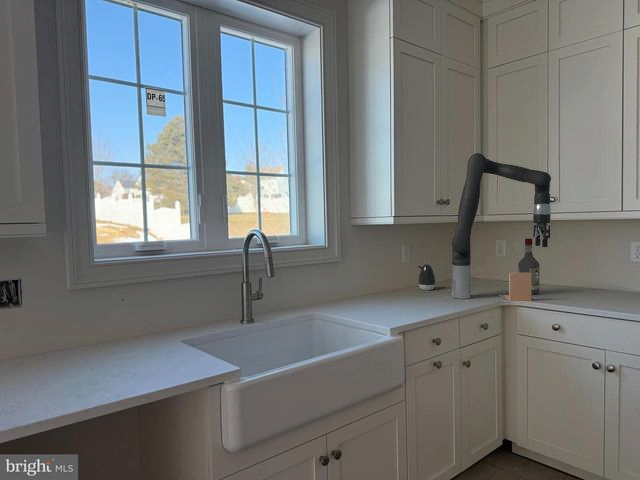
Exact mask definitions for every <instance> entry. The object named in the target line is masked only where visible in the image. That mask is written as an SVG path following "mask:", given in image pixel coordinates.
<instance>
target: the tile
mask: <svg viewBox="0 0 640 480" xmlns="http://www.w3.org/2000/svg"><path fill="white" fill-rule="evenodd" d="M508 278H509V279H508V295H509V301H510V302H532V300H531V298H532V295H531V273H530V272H525V273H518V272H508Z"/></svg>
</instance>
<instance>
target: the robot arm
mask: <svg viewBox="0 0 640 480" xmlns="http://www.w3.org/2000/svg"><path fill="white" fill-rule="evenodd" d="M466 169H467V170H466V175H465V176H466V177H465V182H464V185H463V188H462V191H461V196H460V200H459V205H458V213H457V223H456V227H455V228H456V229H455V232H454V235H453V238H452V241H451V249H452V250H451V251H452V252H451V253H452V258H451V264H452V265H451V273H452V274H451V275H452V276H451V281H450V282H451V297H452V298H453V299H459V300H460V299H464V300H467V299H471V298H472V296H471V295H472V293H471V292H472V291H471V290H472V289H471V286H472V285H471V281H472V280H471V271H472V270H471V257H472V256H471V253H472V252H471V236H472V235H471V234H472V228H473V224H474V222H475V219H476V216H477V213H478V209H479V204H480V198H481V182H482V178H483V175H484V174H490V175H494V176H495V175H496V176H499V177H503V178H506V179H510V180H513V181H517V182H521V183H528V184H532V185H534V197H533V210H532V211H533V212H532V213H533V214H532V215H533V217H532V220H533V221H532V223H533V224H534V225H533V230H532V231H533V233H532V235H533V236H532V237H533V238H534V240H535V241H534V246H535V247H540V246H541V247H542V248H548V247H549V246H548V245H549V244H548V240H549V239H550V238H551V225H548V224H550V223H551V216H552V214H551V212H552V211H551V193H550V190H551V181H552V176H551V175H550V173H548V172H546V171H543V170H536V169H530V168H528V167H524V166H519V165H514V164H509V163H502V162H497V161H493V160H491V159H489V158H486V155H484V154H482V153H480V152H477V153H474V154H472V155H470V156H469V158H468V160H467V168H466Z"/></svg>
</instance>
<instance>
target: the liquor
mask: <svg viewBox="0 0 640 480" xmlns="http://www.w3.org/2000/svg"><path fill="white" fill-rule="evenodd" d="M524 250H525V251H524V256H523V257H522V258H521V259H519V262H518V263H517V273H525V272H530V273H531V296H536V295H539V294H540V262H539V261H538V260H537V259H536V258H535V257H534V255H533V238H528V237H527V238H524Z"/></svg>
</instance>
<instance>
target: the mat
mask: <svg viewBox="0 0 640 480" xmlns="http://www.w3.org/2000/svg"><path fill="white" fill-rule="evenodd" d="M497 296H498V297H499V298H501V299H502V300H509V294H497ZM533 299H534V298H532V297H531V301H532V300H533ZM509 301H510V300H509Z"/></svg>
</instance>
